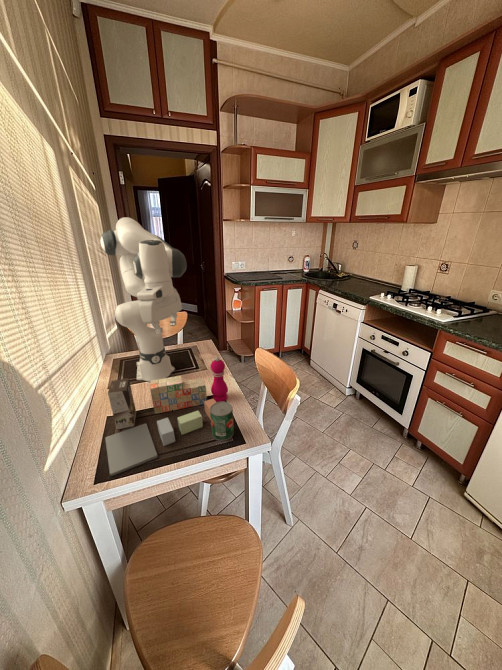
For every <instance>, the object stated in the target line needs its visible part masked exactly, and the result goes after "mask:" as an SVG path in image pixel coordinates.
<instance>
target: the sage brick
mask: <svg viewBox="0 0 502 670" xmlns="http://www.w3.org/2000/svg"><path fill="white" fill-rule="evenodd" d="M177 424H178V429H179V432H180V433H181V435H185V434H188V433H191V432H194V431H195V430H198V429H201V428H204V423H203V416H202V414H201V413H200V411H199V410H196V411H195V410H194V411H192V412H190V413H187V414H184V415H181V416H178V417H177Z"/></svg>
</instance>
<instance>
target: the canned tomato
mask: <svg viewBox="0 0 502 670" xmlns="http://www.w3.org/2000/svg"><path fill="white" fill-rule="evenodd" d="M233 407H234V406H233V404H231V403H230V402H227V401H224V402H223V401H222V402H217V403H214V404H213V405H212V406H211V407H210V415H211V419H210V425H211V435H212V437H213V439H214V440H215V441H220V442H223V441H224V442H225V441H228V440H230V439H231V438H232V437H233V436H234V433H235V431H234V428H235V427H234V409H233Z"/></svg>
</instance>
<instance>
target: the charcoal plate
mask: <svg viewBox="0 0 502 670" xmlns="http://www.w3.org/2000/svg"><path fill="white" fill-rule="evenodd" d="M104 439H105V447H106V448H105V449H106V452H107V453H106V455H107V462H108V463H107V464H108V470H109V476H110V477H114V476H116V475H118V474H121V473H123V472H125V471H128V470H130V469H133V468H135V467H137V466H140V465H143V464H145V463H147V462H150V461H152V460H156V459H157V458H158V456H159V455H158V453H157V450H156V447H155V443H154V441H153V438H152V435H151V432H150V430H149V427H148V425H147V423H143V424H139V425H137V426H133V427H130V428H128V429H125V430H122V431H120V432H117V433H113V434H111V435H109V436H106V437H104Z"/></svg>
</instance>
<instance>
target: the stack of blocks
mask: <svg viewBox="0 0 502 670" xmlns="http://www.w3.org/2000/svg"><path fill="white" fill-rule="evenodd" d="M149 386H150V387H149V389H150V395H151V397H150V398H151V401H152V405H153V411H154V414H160V413H161V414H162V413H168V412H172V410H173V411H177V410H182V409H187V408H191V407H196V406H197V407H198V406H202V405H204V401H207V400H208V395H207V389H206V388H207V387H206V383H205V379H204V377H203V378H195V379H190V380H184V381H183V379H182V375H176V376H171V377H166V378H164V379H159V380H152V381H150V384H149Z"/></svg>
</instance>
